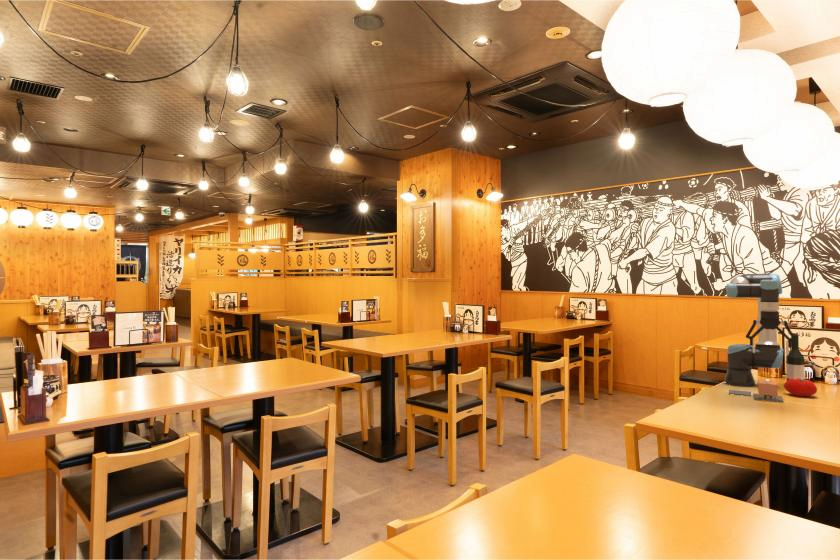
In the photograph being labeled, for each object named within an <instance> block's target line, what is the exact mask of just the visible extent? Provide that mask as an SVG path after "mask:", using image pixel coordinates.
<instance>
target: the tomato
mask: <svg viewBox="0 0 840 560" xmlns="http://www.w3.org/2000/svg"><path fill="white" fill-rule="evenodd" d="M783 387H784V389H785V391H786V392H788V393H789V394H791V395H794V396H795V397H811V396H813V395H815V394H816V393H817V392H818V391H817V390H818V388H817V385H816V384H815V383H814V382H813V381H812V380H809V379H805V380H804V379H803V380H801V379H789V380H787V379H786V380H785V382H784V385H783Z"/></svg>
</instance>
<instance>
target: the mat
mask: <svg viewBox="0 0 840 560" xmlns="http://www.w3.org/2000/svg"><path fill="white" fill-rule="evenodd" d="M731 394H734V395H733V396H741V395H743V397H752V392H751V391H747V390H746V391H745V390H735V389H729V390H728V395H731Z"/></svg>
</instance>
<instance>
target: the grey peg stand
mask: <svg viewBox="0 0 840 560" xmlns="http://www.w3.org/2000/svg"><path fill="white" fill-rule="evenodd" d="M752 394H753V400H754V401H761V400H765V401H764V402H771V401H773V403H781V404H783V403H784V402H785V401H784V399H783V396H782V395H778V396H769V395H759V393H754V392H753V393H752Z"/></svg>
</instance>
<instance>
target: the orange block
mask: <svg viewBox="0 0 840 560" xmlns="http://www.w3.org/2000/svg"><path fill="white" fill-rule="evenodd" d="M778 387H779V386H778V383H777V382H775V381H770V379H769V378H766V379H765V381H764V380H758V394H759V395H769V396H779V390H778Z"/></svg>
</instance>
